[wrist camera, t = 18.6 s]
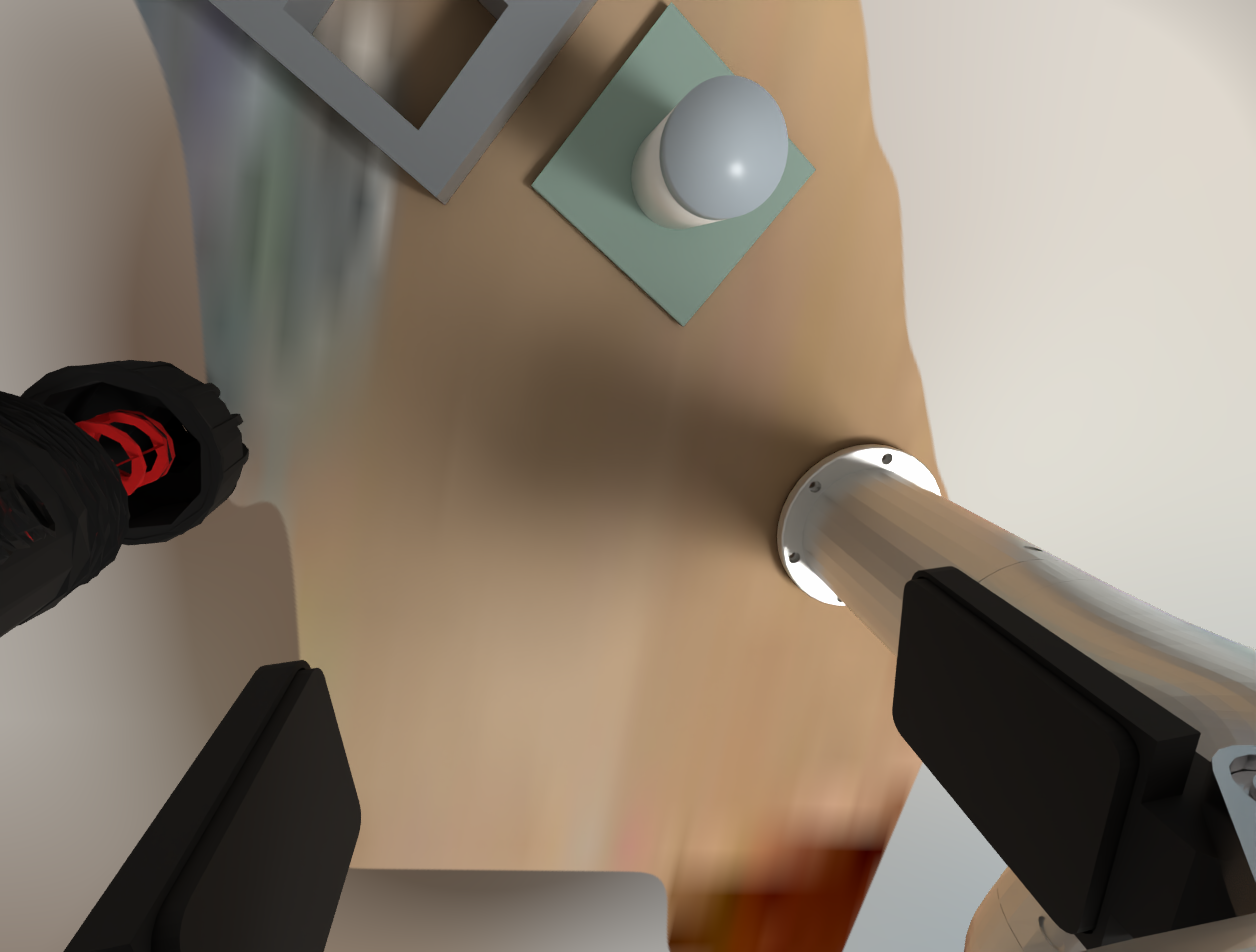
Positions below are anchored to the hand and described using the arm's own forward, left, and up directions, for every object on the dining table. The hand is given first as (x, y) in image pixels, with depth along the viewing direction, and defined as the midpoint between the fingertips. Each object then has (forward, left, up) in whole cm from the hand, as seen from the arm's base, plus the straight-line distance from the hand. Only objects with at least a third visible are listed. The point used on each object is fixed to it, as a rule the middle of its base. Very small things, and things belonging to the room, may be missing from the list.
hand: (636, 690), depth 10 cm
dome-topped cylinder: (+2, -14, -30) cm, 33 cm away
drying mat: (+2, -14, -30) cm, 33 cm away
